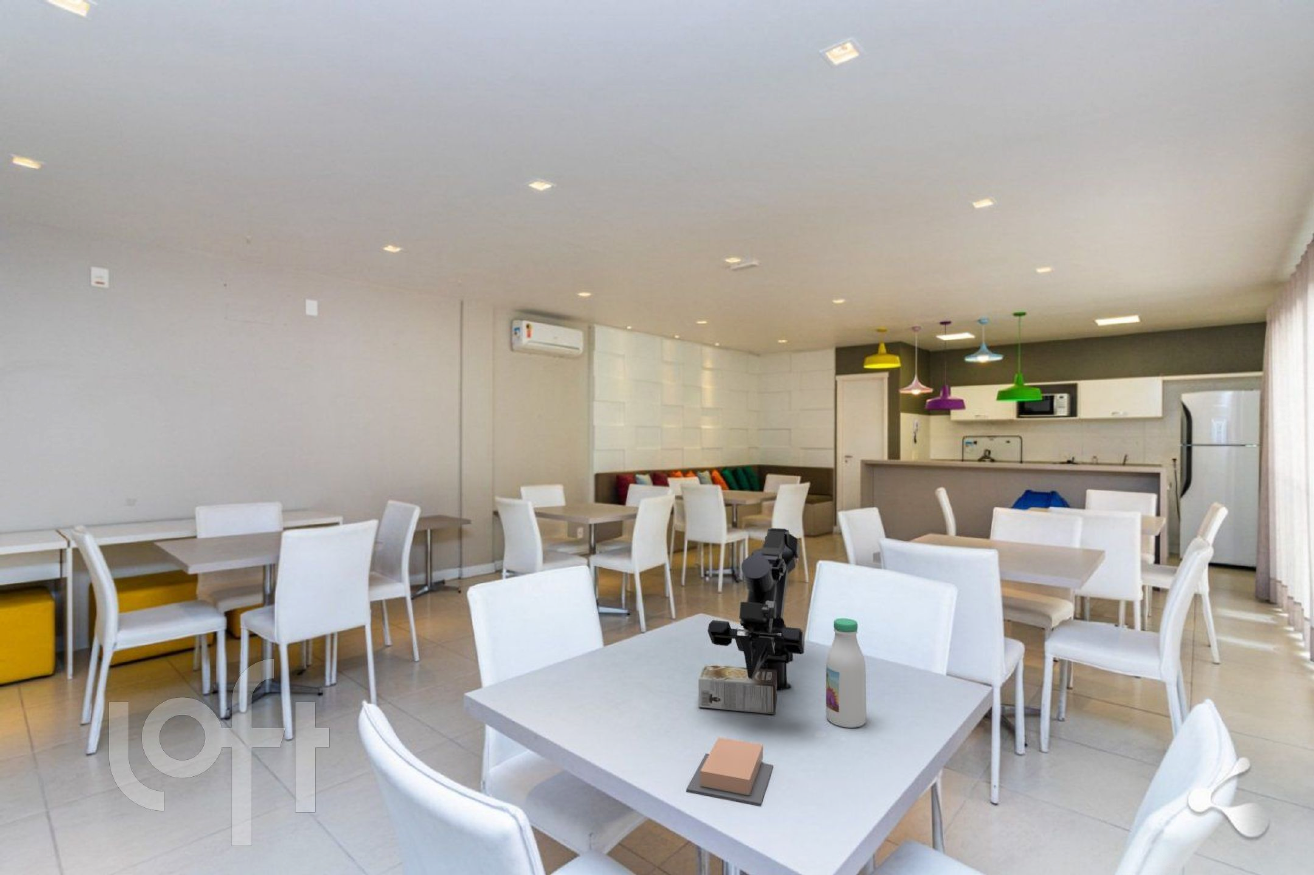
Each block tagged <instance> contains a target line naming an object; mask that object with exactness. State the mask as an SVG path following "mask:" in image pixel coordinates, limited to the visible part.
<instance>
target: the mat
mask: <svg viewBox="0 0 1314 875" xmlns="http://www.w3.org/2000/svg"><path fill="white" fill-rule="evenodd" d="M709 754H710V753H705V754H704V756H703V758H702V759H701V761H700V763H699V765H698V767H697V769H696V771H695V772H694V773H693V776H692V778H691V780H690V781H689V783H688V785H687V786H686V789H685V790H686V792H688V793H693V794H696V795H697V794H698V795H703V796H708V797H713V798H718V799H722V800H729V801H733V802H734V801H735V802H739V803H744V804H749V805H754V806H759V807H760V806H762V804H763V801H764V797H765V794H766V791H767V787H768V784H769V782H770V779H771V775H772V773H773V769H774V765H773V764H770V763H763V762H761V765H760V768H759V770H758V773H757V776H756V779H755V781H754V784H753V787H752V790H751V792H750V795H749V796H748V795H743V794H738V793H733V792H728V791H722V790H717V789H712V788H707V787H702V786H700V771H701V769H702V767H703V765H704V763H705V761H706V760H707V758H708V756H709Z"/></svg>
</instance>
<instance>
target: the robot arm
mask: <svg viewBox="0 0 1314 875" xmlns="http://www.w3.org/2000/svg"><path fill="white" fill-rule="evenodd" d="M800 551H801V550H800V543H799V540H798V537H796V536H794V535H793V534H791V533H790V531H789V529H787V528H778V527H776V528H775V527H771V528H768V529H767V534H766V535H765V536H764V542H763V544H762V546H761V548H757V549H754V550H753V551H752V552H751V554H750V556H747V557H746V558H745V559H743V561H742V562H741V566H740V567H741V572H742V575H743V580H744V583H745V587H746V589H747V590H748V592H747V597H746V601H741V602H740V603H739V604H740V605H739V617H738V618H739V621H740V622H739V623H740V626H741V627H736V628H731V624H730V621H726V620H716V619H712V620H711V621H710V622H709V623H708V626H707V633H708V636H709V638H710V641H711V644H712V645H714V646H723V647H724V646H725V647H729V645H731V644H732V642H733V640H735V644H736V646H737V649H738V651H740V652H743V656H744V660H745V666H746V667H745V668H747V674H748V678H751V679H753V678H754V676H755V674H756V673H757V671H758V669H770V670H776V671H777V691H781V690H786V689H789V688H790V689H791V687H792V684H791V683H788V682H787V681H788V680H787V679H788V678H787V673H788V670H787V668H788V667H787V666H788V665H787V664H790V663H791V662H793V661H794V654H795V655H796V654H797V655H803V654H805V646H806V645H805V637H804V631H803V630H802V629H801V628H798V627H789V626H787V625H786V623H785V620H784V611H785V603H786V597H787V596H786V594H787V587H788V580H789V579H788V578H789V574H790V573H791V572H792V571H793V570H794V569H795V568H796V566H797V560H798V559H799V558H800Z"/></svg>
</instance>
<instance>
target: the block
mask: <svg viewBox="0 0 1314 875" xmlns="http://www.w3.org/2000/svg"><path fill="white" fill-rule="evenodd" d="M714 743H715V744H714V745H713V747H712V749H711V750H710V753H708V754H709V756H708V758H707V760H706V761H705V763H704V765H703V767H702V769H701V771H700V786H702V787H707V788H712V789H717V790H722V791H728V792H733V793H738V794H743V795H748V796H749V795H750V792H751V790H752V787H753V784H754V781H755V779H756V776H757V773H758V770H759V768H760V765H761V763H763V759H764V744H760V743H754V742H749V741H742V740H737V739H730V738H725V737H724V738H723V737H718V738H717V739H716V741H715V742H714Z"/></svg>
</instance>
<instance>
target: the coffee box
mask: <svg viewBox="0 0 1314 875" xmlns="http://www.w3.org/2000/svg"><path fill="white" fill-rule="evenodd" d="M777 692H778V690H777V671H776V670H770V669H758V671H757V673H756V674H755V676H754V678H753V679H751V678H748V674H747V668H746V667H743V666H731V665H728V666H727V665H716V664H715V665H714V664H704V666H703V667H702V670H701V672H700V675H699V677H698V707H699V708H705V709H706V708H707V709H718V710H727V711H728V710H729V711H735V712H736V711H738V712H749V713H757V714H758V713H760V714H768V715H769V714H771V715H776V710H777V703H778V702H777V700H778V694H777Z"/></svg>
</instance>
